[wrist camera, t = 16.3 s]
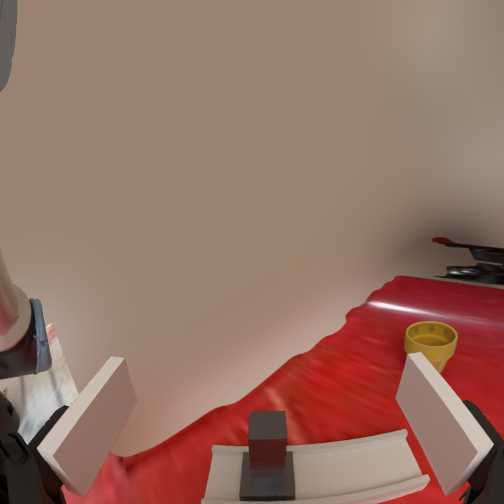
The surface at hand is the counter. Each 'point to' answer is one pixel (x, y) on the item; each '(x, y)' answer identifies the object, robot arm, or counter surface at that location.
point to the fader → (267, 460)
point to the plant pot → (431, 342)
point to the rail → (329, 472)
